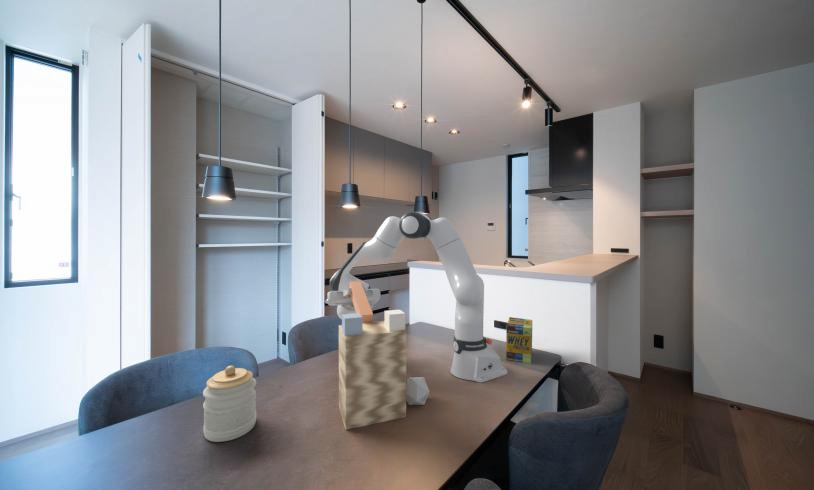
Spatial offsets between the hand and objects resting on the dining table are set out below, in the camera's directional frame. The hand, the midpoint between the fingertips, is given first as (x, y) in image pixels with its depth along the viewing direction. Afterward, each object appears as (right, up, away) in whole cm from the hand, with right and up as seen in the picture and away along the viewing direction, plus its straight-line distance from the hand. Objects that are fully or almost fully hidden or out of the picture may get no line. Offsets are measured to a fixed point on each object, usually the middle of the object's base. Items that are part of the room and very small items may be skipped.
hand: (357, 289), depth 115 cm
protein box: (+69, -34, +27) cm, 82 cm away
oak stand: (+7, -35, -19) cm, 40 cm away
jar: (-31, -35, -27) cm, 54 cm away
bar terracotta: (+1, -5, -4) cm, 7 cm away
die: (+21, -35, -13) cm, 43 cm away
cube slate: (+2, -9, -24) cm, 26 cm away
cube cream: (+14, -9, -20) cm, 26 cm away
